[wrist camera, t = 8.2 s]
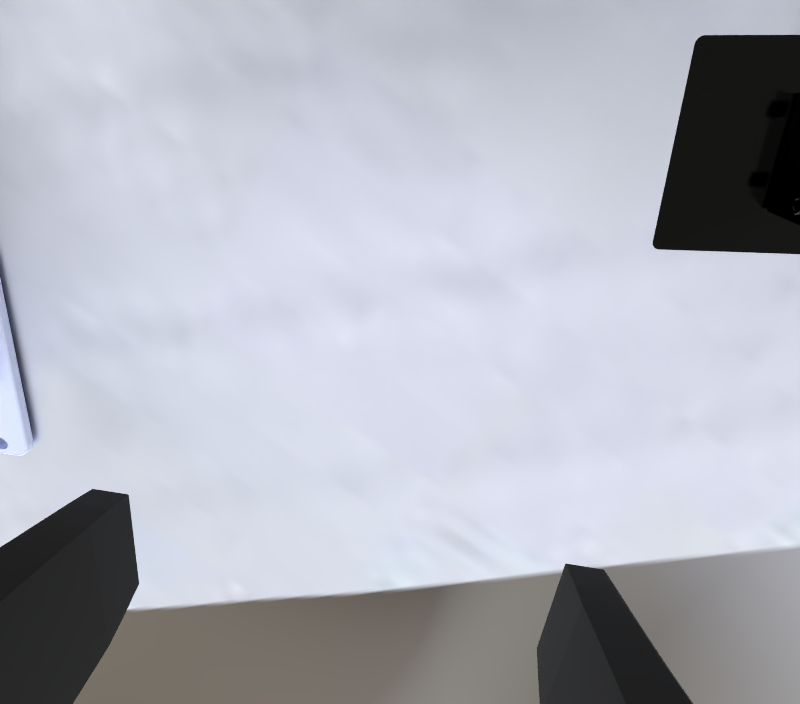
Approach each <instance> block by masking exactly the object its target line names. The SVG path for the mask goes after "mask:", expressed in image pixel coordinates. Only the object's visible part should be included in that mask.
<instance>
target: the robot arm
mask: <svg viewBox="0 0 800 704" xmlns="http://www.w3.org/2000/svg"><path fill="white" fill-rule="evenodd" d="M3 439H4V440H3ZM32 447H33V438H32V433H31V428H30V423H29V418H28V413H27V408H26V403H25V398H24V393H23V388H22V383H21V378H20V373H19V368H18V364H17V359H16V354H15V349H14V344H13V339H12V334H11V329H10V324H9V319H8V314H7V309H6V304H5V299H4V294H3V289H2V284H1V279H0V453H4V454H10V455H17V456H22V455H24V454H26V453H27V452H28V451H30V450H31V449H32ZM138 585H139V580H138V571H137V563H136V554H135V546H134V537H133V529H132V520H131V512H130V504H129V495H127V494H121V493H115V492H108V491H102V490H96V489H92V490H90V491H89V492H87V493H85V494H84V495H82V496H80V497H79V498H77V499H75V500H74V501H72V502H71V503H69V504H67V505H66V506H64V507H63V508H61V509H59V510H58V511H56V512H55V513H53V514H52V515H50V516H49V517H47V518H45V519H44V520H42V521H41V522H39V523H38V524H36V525H35V526H33V527H31V528H30V529H28V530H27V531H25V532H24V533H22V534H21V535H19V536H17V537H16V538H14V539H13V540H11V541H10V542H8V543H6V544H5V545H3V546H2V547H0V704H73V702H74V701H75V699H76V697H77V696H78V694H79V693H80V691H81V690H82V688H83V687H84V685H85V683H86V682H87V680H88V678H89V677H90V675H91V673H92V672H93V671H94V669H95V667H96V666H97V664H98V663H99V661H100V659H101V658H102V656H103V654H104V653H105V651H106V649H107V648H108V646H109V645H110V643H111V641H112V638H113V636H114V634H115V633H116V631H117V629H118V626H119V625H120V623H121V621H122V619H123V616H124V614H125V612H126V610H127V608H128V606H129V604H130V602H131V600H132V597H133V595H134V593H135V591H136V589H137V587H138ZM537 658H538V680H539V697H540V704H693V703H692V702H691V700H690V699H689V697H688V696H687V694H686V693H685V691H684V690H683V689H682V687H681V686H680V684H679V683H678V681H677V680H676V679H675V677H674V676H673V674H672V673H671V671H670V670H669V668H668V667H667V665H666V664H665V662H664V661H663V659H662V658H661V656H660V655H659V653H658V652H657V650H656V649H655V648H654V646H653V644H652V643H651V641H650V640H649V638H648V637H647V635H646V634H645V632H644V631H643V629H642V628H641V626H640V625H639V623H638V621H637V620H636V618H635V617H634V615H633V614H632V612H631V611H630V609H629V607H628V606H627V604H626V603H625V601H624V600H623V598H622V597H621V595H620V594H619V592H618V590H617V589H616V587H615V586H614V584H613V583H612V581H611V580H610V578H609V577H608V575H607V574H606V572H605V571H604V570H602V569H596V568H590V567H583V566H577V565H571V564H565V567H564V570H563V573H562V576H561V579H560V582H559V585H558V587H557V590H556V593H555V596H554V600H553V602H552V605H551V608H550V611H549V614H548V617H547V620H546V623H545V626H544V629H543V632H542V635H541V638H540V641H539V644H538V647H537Z"/></svg>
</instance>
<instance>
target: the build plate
mask: <svg viewBox="0 0 800 704" xmlns="http://www.w3.org/2000/svg"><path fill="white" fill-rule="evenodd" d="M653 246H654V247H655V248H656V249H666V250H695V251H725V252H755V253H784V254H800V35H704V36H701V37H699V38H698V39H697V41H696V42H695V45H694V50H693V55H692V60H691V64H690V69H689V74H688V78H687V83H686V88H685V93H684V97H683V102H682V107H681V112H680V116H679V121H678V126H677V131H676V135H675V140H674V145H673V149H672V154H671V159H670V164H669V168H668V173H667V178H666V183H665V187H664V192H663V197H662V202H661V206H660V211H659V216H658V220H657V225H656V230H655V235H654V239H653Z"/></svg>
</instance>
